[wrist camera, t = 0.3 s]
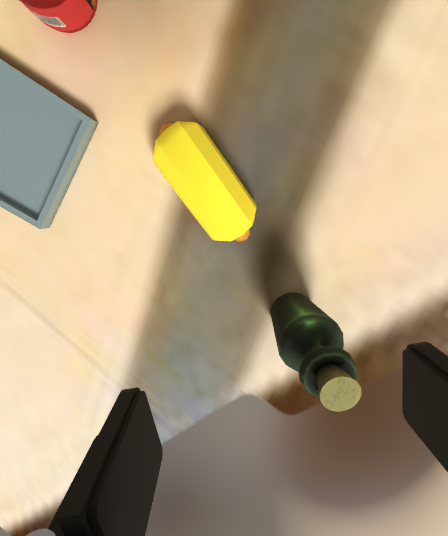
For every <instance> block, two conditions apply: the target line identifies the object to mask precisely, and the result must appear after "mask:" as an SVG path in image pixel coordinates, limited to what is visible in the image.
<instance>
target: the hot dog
mask: <svg viewBox="0 0 448 536" xmlns="http://www.w3.org/2000/svg"><path fill="white" fill-rule="evenodd" d="M153 161H154V163H155V165H156V166H157V168H158V169H159V170H160V172H161V173H162V174H163V176H164V177H165V178H166V180H167V181H168V182H169V184H170V185H171V186H172V188H173V189H174V190H175V192H176V193H177V194H178V196H179V197H180V198H181V200H182V201H183V202H184V204H185V205H186V206H187V208H188V209H189V210H190V212H191V213H192V214H193V215H194V217H195V218H196V219H197V221H198V222H199V223H200V224H201V226H202V227H203V228H204V230H205V231H206V232H207V233H208V235H209V236H210V237H211V239H213V240H219V241H232V240H234V239H235V240H236V241H238V242H240V241H244V240H247V238H248V236H249V235H250V233H251V232H250V227H251V226H252V225H253V223H254V218H255V213H256V207H257V205H256V203H255V202H254V200H253V199H252V197H251V196H250V194H249V193H248V192H247V190H246V189H245V187H244V186H243V184H242V183H241V181H240V180H239V178H238V177H237V175H236V174H235V172H234V171H233V170H232V168H231V167H230V165H229V164H228V162H227V161H226V159H225V158H224V157H223V155H222V154H221V152H220V151H219V149H218V148H217V147H216V145H215V144H214V142H213V141H212V139H211V138H210V137H209V135H208V134H207V132H206V131H205V129H204V128H203V127H202V126H201V125H200V124H198V123H196V122H183V121H177V122H175V123H174V124H173V123H171V122H169V123H166V124H164V125H162V127H161V129H160V130H159V137H158V138H157V139H156V140H155V147H154V154H153Z"/></svg>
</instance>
